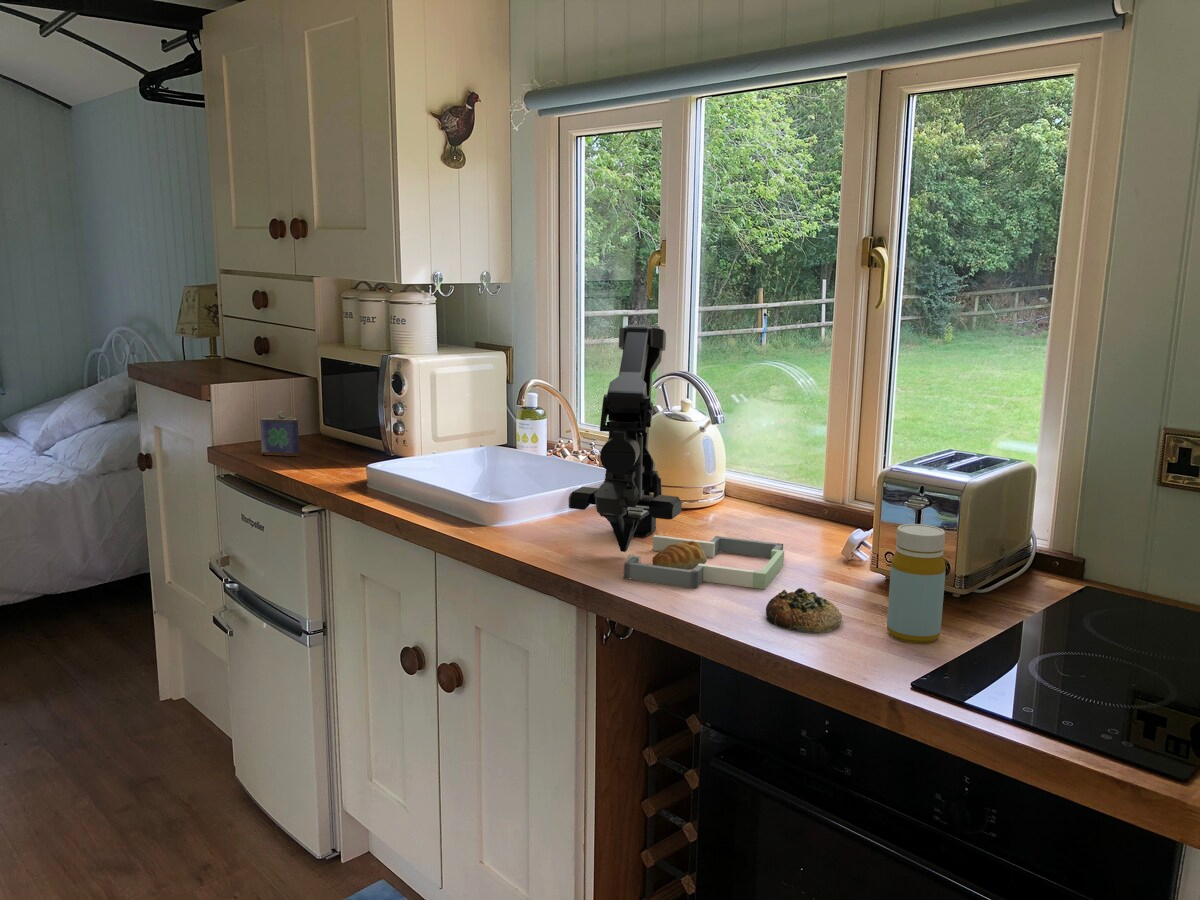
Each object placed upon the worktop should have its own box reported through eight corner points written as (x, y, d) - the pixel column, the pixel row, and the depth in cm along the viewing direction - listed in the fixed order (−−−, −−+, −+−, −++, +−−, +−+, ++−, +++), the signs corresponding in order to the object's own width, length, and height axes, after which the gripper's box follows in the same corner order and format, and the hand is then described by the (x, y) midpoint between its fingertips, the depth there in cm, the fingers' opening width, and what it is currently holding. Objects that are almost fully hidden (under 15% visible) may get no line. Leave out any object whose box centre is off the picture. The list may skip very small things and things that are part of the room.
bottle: (878, 626, 139) (886, 523, 136) (927, 626, 139) (935, 522, 136) (897, 645, 132) (905, 537, 129) (948, 644, 132) (957, 536, 130)
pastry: (670, 577, 160) (670, 554, 160) (641, 567, 165) (641, 545, 165) (709, 566, 166) (710, 544, 166) (680, 557, 171) (681, 535, 171)
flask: (260, 456, 253) (258, 411, 251) (265, 453, 256) (263, 409, 254) (297, 457, 252) (295, 412, 250) (302, 455, 255) (300, 410, 253)
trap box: (618, 577, 159) (618, 562, 158) (661, 543, 179) (662, 529, 178) (759, 597, 150) (759, 581, 150) (788, 558, 170) (789, 544, 170)
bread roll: (749, 611, 144) (755, 578, 143) (811, 612, 148) (818, 580, 148) (792, 641, 134) (799, 606, 133) (857, 641, 139) (865, 607, 138)
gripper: (555, 466, 163) (554, 557, 166) (662, 476, 156) (660, 571, 159) (581, 454, 173) (581, 540, 176) (683, 463, 166) (681, 553, 169)
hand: (623, 551), depth 170 cm, fingers closed
